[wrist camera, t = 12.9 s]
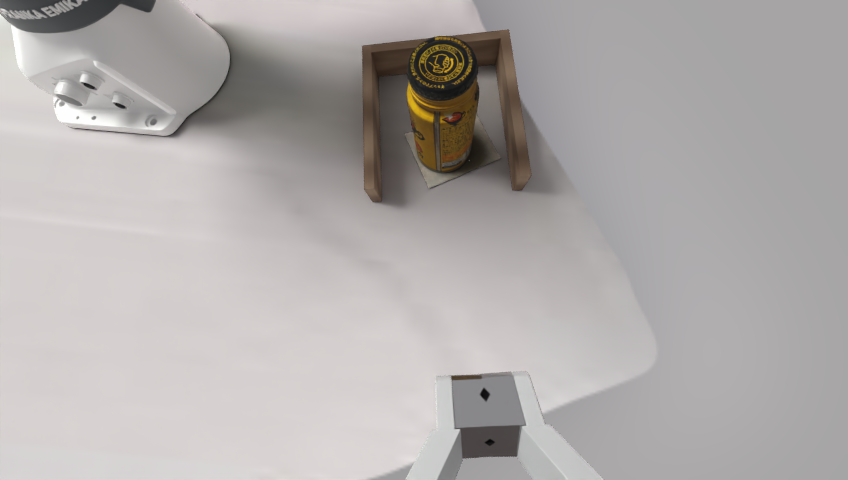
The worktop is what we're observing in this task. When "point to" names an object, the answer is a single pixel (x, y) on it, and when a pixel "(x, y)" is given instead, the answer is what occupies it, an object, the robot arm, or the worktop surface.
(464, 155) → the condiment
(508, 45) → the box
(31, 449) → the worktop surface
